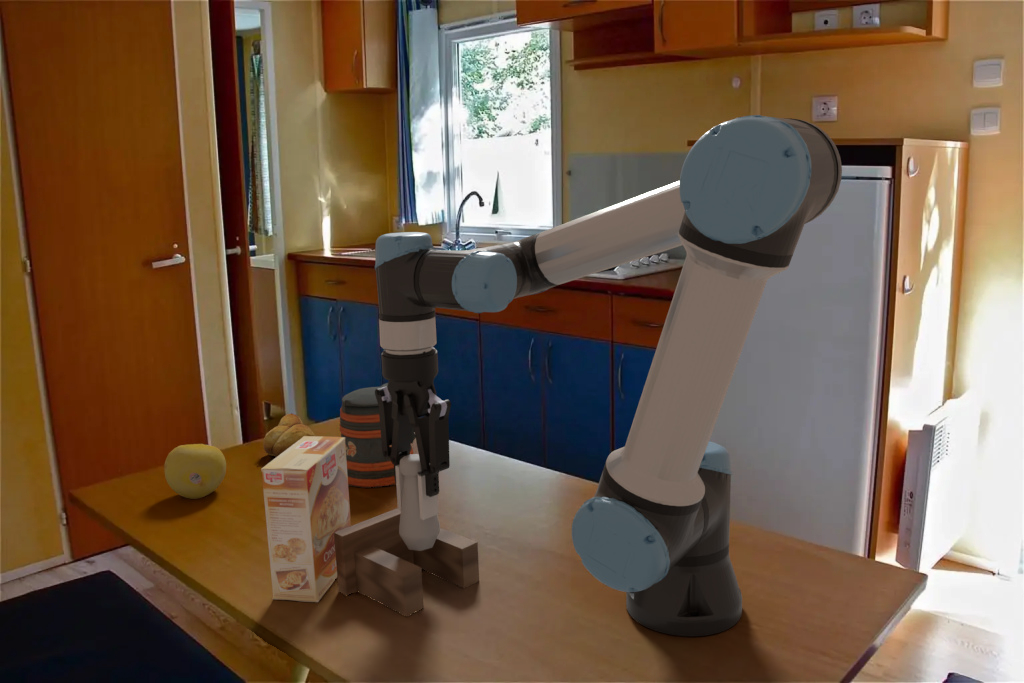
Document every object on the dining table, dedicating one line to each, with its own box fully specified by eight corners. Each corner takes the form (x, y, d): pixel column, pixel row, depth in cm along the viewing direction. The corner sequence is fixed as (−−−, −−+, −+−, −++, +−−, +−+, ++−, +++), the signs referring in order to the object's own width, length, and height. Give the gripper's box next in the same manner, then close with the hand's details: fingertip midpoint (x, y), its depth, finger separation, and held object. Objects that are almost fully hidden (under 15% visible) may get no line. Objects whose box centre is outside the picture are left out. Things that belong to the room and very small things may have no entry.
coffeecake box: (318, 603, 123) (307, 469, 119) (270, 600, 124) (258, 468, 120) (356, 556, 137) (347, 435, 133) (312, 554, 138) (302, 434, 134)
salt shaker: (424, 532, 128) (418, 447, 126) (449, 543, 124) (444, 454, 122) (391, 545, 125) (384, 457, 122) (417, 557, 120) (410, 466, 118)
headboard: (487, 576, 129) (485, 518, 127) (396, 622, 117) (392, 558, 115) (429, 551, 138) (426, 497, 136) (338, 591, 126) (333, 532, 124)
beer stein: (393, 452, 186) (387, 359, 182) (445, 464, 177) (440, 367, 173) (323, 479, 171) (315, 378, 167) (376, 494, 162) (369, 389, 158)
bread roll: (329, 457, 184) (326, 420, 183) (287, 469, 178) (284, 431, 176) (297, 444, 193) (294, 409, 192) (256, 455, 187) (253, 419, 185)
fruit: (235, 495, 164) (230, 444, 162) (175, 509, 158) (169, 456, 156) (219, 480, 173) (214, 431, 171) (161, 493, 167) (155, 442, 165)
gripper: (473, 351, 116) (480, 519, 120) (391, 336, 127) (400, 489, 132) (429, 362, 110) (438, 537, 115) (348, 345, 122) (359, 504, 127)
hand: (418, 511), depth 124 cm, fingers closed on salt shaker, 4 cm apart
